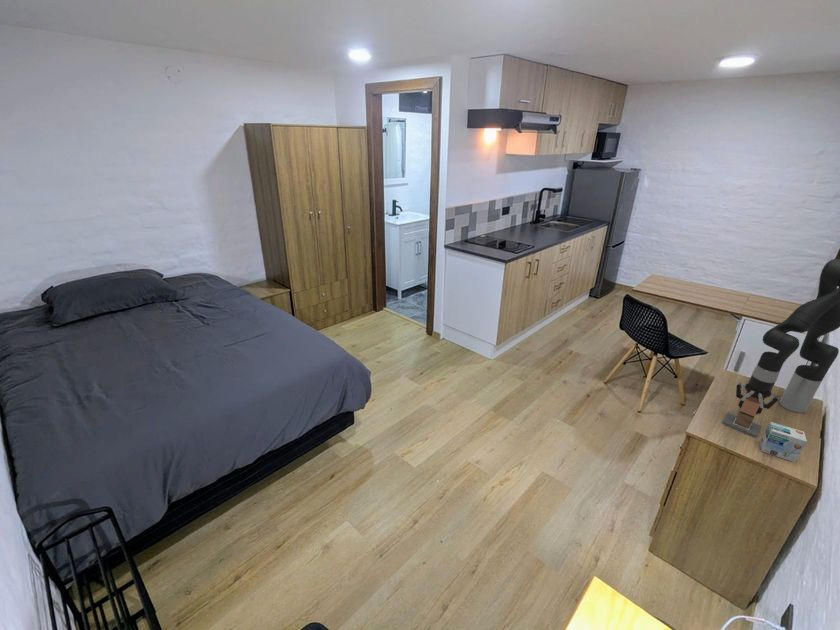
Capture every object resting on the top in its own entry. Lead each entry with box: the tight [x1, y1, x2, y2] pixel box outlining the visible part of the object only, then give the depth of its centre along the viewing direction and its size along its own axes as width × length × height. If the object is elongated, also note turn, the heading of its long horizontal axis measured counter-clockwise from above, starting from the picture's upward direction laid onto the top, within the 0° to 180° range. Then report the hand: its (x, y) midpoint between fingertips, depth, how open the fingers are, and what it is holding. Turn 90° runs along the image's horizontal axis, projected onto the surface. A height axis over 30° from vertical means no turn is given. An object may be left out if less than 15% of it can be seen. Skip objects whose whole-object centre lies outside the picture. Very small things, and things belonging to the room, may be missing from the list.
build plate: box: [721, 412, 763, 439], centre depth 170 cm, size 9×12×1 cm
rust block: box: [739, 396, 760, 416], centre depth 165 cm, size 5×5×6 cm
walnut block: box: [734, 410, 757, 429], centre depth 168 cm, size 5×5×6 cm
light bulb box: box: [759, 421, 808, 463], centre depth 154 cm, size 11×7×11 cm, turn 56°
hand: (748, 410), depth 166 cm, fingers closed on rust block, 5 cm apart
